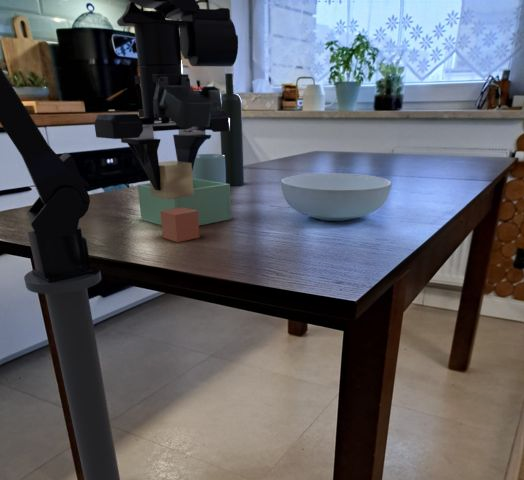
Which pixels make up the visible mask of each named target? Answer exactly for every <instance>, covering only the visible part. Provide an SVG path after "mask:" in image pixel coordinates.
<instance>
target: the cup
mask: <svg viewBox="0 0 524 480" xmlns="http://www.w3.org/2000/svg"><path fill="white" fill-rule="evenodd" d="M192 178H195V179H201V180H207V181H214V182H220V183H226V166H225V156H224V155H222V154H221V153H200V154H198V153H197V155H196V159H195V162H194V166H193V170H192Z"/></svg>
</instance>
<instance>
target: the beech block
mask: <svg viewBox="0 0 524 480" xmlns="http://www.w3.org/2000/svg"><path fill="white" fill-rule="evenodd" d="M158 162H159V170H160V180H161V189H160V190H159V191H158V190H155V189H154V187H153V185H152V184H151V182H150V181H149V183H150V186H151V195H152V196H156V197H160V198H165V199H173V198H179V197H186V196H192V195H194V191H193V178H192V165H191V163H188V162H180V161H177V160H168V161H158Z"/></svg>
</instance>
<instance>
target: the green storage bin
mask: <svg viewBox="0 0 524 480" xmlns="http://www.w3.org/2000/svg"><path fill="white" fill-rule="evenodd" d="M136 186H137V192H138V201H139V209H140V210H139V211H140V218H141V220H142V221H145V222H149V223H152V224H155V225H159V226H162V224H161V214H160V211H163V210H169V209H175V208H181V207H184V208H188V209H192V210H197V211H198V221H199V227H200V226H205V225H209V224H214V223H219V222H224V221H229V220H232V204H231V186H230V184H226V183H220V182H214V181H207V180H201V179H195V178H193V191H194V195H192V196H186V197H179V198H173V199H165V198H160V197H156V196H152V195H151V186H150V182H149V183H141V184H137V185H136Z"/></svg>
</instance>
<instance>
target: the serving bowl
mask: <svg viewBox="0 0 524 480" xmlns="http://www.w3.org/2000/svg"><path fill="white" fill-rule="evenodd" d="M280 185H281V186H280V187H281V191H282V195H283V198H284V200H285V201H286V204H287V205H289V207H291V208H292V209H293V210H294V211H296V212H298V213H299V214H301V215H305V216H309V217H310V218H313V219H315V220H320V221H328V222H329V221H330V222H345V221H351V220H355V219H356V218H361V217H364V216H368V215H371V214H373V213H374V212H376V211H378V210H379V209H380V208H381V207H383V206H384V204H385V203H386V201H387V199H388V198H389V195H390V192H391V188H392V185H393V184H392V182H391V180H389V179H386V178H384V177H380V176H375V175H367V174H357V173H341V172H339V173H337V172H336V173H335V172H334V173H332V172H326V173H325V172H323V173H306V174H305V173H303V174H296V175H291V176H287V177H284V178H282V179H281V180H280Z"/></svg>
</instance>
